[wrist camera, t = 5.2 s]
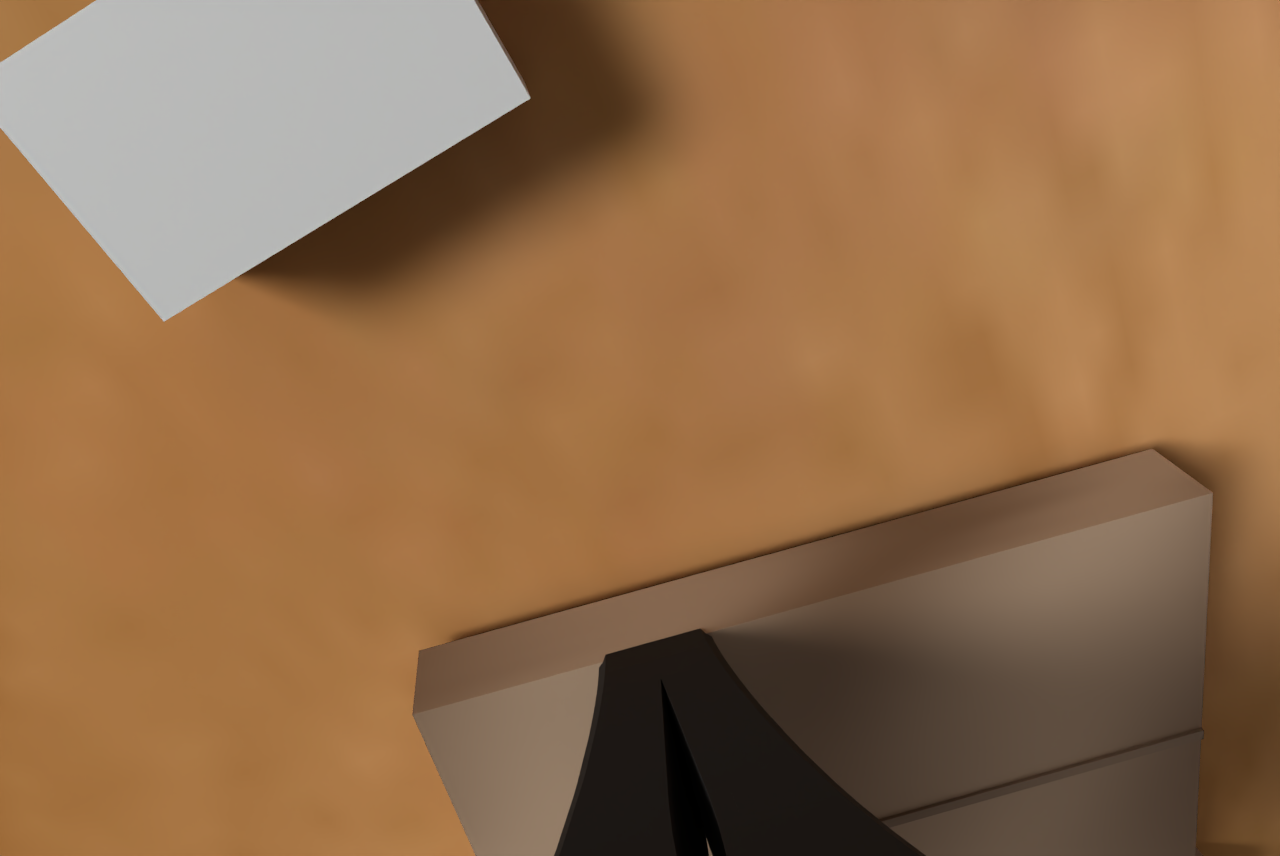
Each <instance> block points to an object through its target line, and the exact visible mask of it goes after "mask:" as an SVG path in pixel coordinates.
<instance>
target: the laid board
mask: <svg viewBox="0 0 1280 856" xmlns="http://www.w3.org/2000/svg"><path fill="white" fill-rule="evenodd" d="M1195 856H1203V855H1202V853H1201V852H1200V851H1199V850H1198V849H1197V847H1196V852H1195Z"/></svg>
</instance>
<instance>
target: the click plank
mask: <svg viewBox="0 0 1280 856" xmlns="http://www.w3.org/2000/svg"><path fill="white" fill-rule="evenodd" d="M1212 501H1213V493H1212V492H1211V491H1210V490H1208V489H1207V488H1206V487H1204V486H1203V485H1201V484H1200V483H1199V482H1197V481H1196V480H1195V479H1193V478H1192V477H1191V476H1189V475H1188V474H1186V473H1185V472H1184V471H1182V470H1181V469H1180V468H1178V467H1177V466H1176V465H1174V464H1173V463H1171V462H1170V461H1169V460H1167V459H1166V458H1165V457H1163V456H1162V455H1161V454H1159V453H1158V452H1156V451H1155V450H1154V449H1150V450H1146V451H1142V452H1139V453H1135V454H1132V455H1128V456H1124V457H1121V458H1117V459H1113V460H1110V461H1106V462H1102V463H1099V464H1095V465H1092V466H1088V467H1084V468H1081V469H1077V470H1073V471H1070V472H1066V473H1063V474H1059V475H1055V476H1052V477H1048V478H1044V479H1041V480H1037V481H1034V482H1030V483H1026V484H1023V485H1019V486H1015V487H1012V488H1008V489H1004V490H1001V491H997V492H994V493H990V494H986V495H983V496H979V497H975V498H972V499H968V500H965V501H961V502H957V503H954V504H950V505H946V506H943V507H939V508H936V509H932V510H928V511H925V512H921V513H917V514H914V515H910V516H906V517H903V518H899V519H896V520H892V521H888V522H885V523H881V524H877V525H874V526H870V527H867V528H863V529H859V530H856V531H852V532H848V533H845V534H841V535H838V536H834V537H830V538H827V539H823V540H819V541H816V542H812V543H809V544H805V545H801V546H798V547H794V548H790V549H787V550H783V551H779V552H776V553H772V554H769V555H765V556H761V557H758V558H754V559H750V560H747V561H743V562H740V563H736V564H732V565H729V566H725V567H721V568H718V569H714V570H711V571H707V572H703V573H700V574H696V575H692V576H689V577H685V578H681V579H678V580H674V581H671V582H667V583H663V584H660V585H656V586H652V587H649V588H645V589H642V590H638V591H634V592H631V593H627V594H623V595H620V596H616V597H613V598H609V599H605V600H602V601H598V602H594V603H591V604H587V605H583V606H580V607H576V608H573V609H569V610H565V611H562V612H558V613H554V614H551V615H547V616H544V617H540V618H536V619H533V620H529V621H525V622H522V623H518V624H515V625H511V626H507V627H504V628H500V629H496V630H493V631H489V632H485V633H482V634H478V635H475V636H471V637H467V638H464V639H460V640H456V641H453V642H449V643H446V644H442V645H438V646H435V647H431V648H427V649H424V650H420V651H419V657H418V666H417V676H416V686H415V695H414V705H413V717H414V719H415V721H416V724H417V726H418V728H419V730H420V732H421V735H422V737H423V739H424V741H425V744H426V746H427V748H428V750H429V753H430V755H431V757H432V759H433V761H434V764H435V766H436V768H437V770H438V773H439V775H440V777H441V779H442V782H443V784H444V786H445V788H446V790H447V793H448V795H449V797H450V799H451V802H452V804H453V806H454V808H455V810H456V813H457V815H458V817H459V819H460V822H461V824H462V826H463V828H464V831H465V833H466V835H467V837H468V839H469V842H470V844H471V846H472V848H473V851H474V853H475V855H476V856H554V854H555V852H556V849H557V846H558V843H559V839H560V836H561V833H562V830H563V827H564V824H565V821H566V818H567V815H568V812H569V809H570V806H571V802H572V799H573V796H574V793H575V789H576V786H577V782H578V778H579V774H580V770H581V766H582V762H583V758H584V754H585V750H586V746H587V742H588V738H589V733H590V728H591V723H592V718H593V713H594V707H595V701H596V695H597V686H598V677H599V667H600V665H601V664H602V663H603V660H604V657H605V655H606V654H610V653H613V652H617V651H620V650H624V649H628V648H631V647H635V646H638V645H642V644H646V643H649V642H653V641H656V640H660V639H664V638H667V637H671V636H674V635H678V634H682V633H685V632H689V631H692V630H696V629H700V628H701V629H702V630H703V631H704V632H705V633H706V634H708V635H710V636H712V638H713V640H714V642H715V643H716V645H717V647H718V649H719V650H720V652H721V654H722V655H723V657H724V658H725V660H726V661H727V663H728V664H729V665H730V667H731V668H732V670H733V671H734V672H735V674H736V675H737V676H738V678H739V679H740V680H741V682H742V683H743V684H744V685H745V687H746V688H747V689H748V691H749V692H750V693H751V694H752V695H753V697H754V698H755V699H756V700H757V701H758V703H759V704H760V705H761V706H762V707H763V708H764V710H765V711H766V712H767V713H768V714H769V715H770V716H771V717H772V718H773V719H774V721H775V722H776V723H777V724H778V725H779V726H780V727H781V728H782V729H783V731H784V732H785V733H786V734H787V735H788V736H789V737H790V738H791V739H792V740H793V741H794V742H795V743H796V744H797V745H798V746H799V747H800V748H801V749H802V750H803V751H804V753H805V754H806V755H807V756H809V757H810V758H811V759H812V760H813V761H814V762H815V763H816V764H817V765H818V766H819V767H820V768H821V769H822V770H823V771H824V772H825V773H826V774H827V775H828V776H829V777H830V778H831V779H833V780H834V781H835V782H836V783H837V784H838V785H839V786H840V787H841V788H843V789H844V790H845V791H846V792H847V793H848V794H849V795H850V796H852V797H853V798H854V799H855V800H856V801H857V802H858V803H860V804H861V805H862V806H863V807H864V808H866V809H867V810H868V811H869V812H871V813H872V814H873V815H874V816H875V817H877V818H878V819H879V820H880V821H882V822H883V823H884V824H885V825H886V826H888V827H889V828H890V829H891V830H893V831H894V832H895V833H897V834H898V835H899V836H901V837H902V838H903V839H905V840H906V841H907V842H909V843H910V844H911V845H913V846H914V847H915V848H917V849H918V850H919V851H920V852H922V853H923V854H924V855H926V856H1195V852H1196V832H1197V811H1198V790H1199V770H1200V749H1201V739H1203V738H1204V730H1203V729H1202V708H1203V687H1204V666H1205V646H1206V625H1207V604H1208V584H1209V563H1210V542H1211V522H1212ZM706 839H707V838H706ZM707 845H708V852H709V856H713V855H712V852H711V850H710V847H709V844H708V841H707Z"/></svg>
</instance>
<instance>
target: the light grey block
mask: <svg viewBox="0 0 1280 856" xmlns="http://www.w3.org/2000/svg"><path fill="white" fill-rule="evenodd" d="M530 98H531V97H530V95H529V92H528V90H527V87H526V84H525V82H524V80H523V78H522V76H521V74H520V73H519V71H518V69H517V67H516V66H515V64H514V62H513V60H512V59H511V57H510V55H509V54H508V52H507V50H506V48H505V47H504V45H503V43H502V41H501V40H500V38H499V36H498V34H497V33H496V31H495V29H494V27H493V26H492V24H491V22H490V21H489V19H488V17H487V15H486V14H485V12H484V10H483V8H482V7H481V5H480V3H479V1H478V0H96V1H95V2H93V3H91V4H90V5H88V6H87V7H85V8H84V9H82V10H81V11H79V12H78V13H76V14H74V15H73V16H71V17H70V18H68V19H67V20H65V21H64V22H62V23H61V24H59V25H58V26H56V27H54V28H53V29H51V30H50V31H48V32H47V33H45V34H44V35H42V36H41V37H39V38H37V39H36V40H34V41H33V42H31V43H30V44H28V45H27V46H25V47H24V48H22V49H21V50H19V51H17V52H16V53H14V54H13V55H11V56H10V57H8V58H7V59H5V60H4V61H2V62H1V63H0V128H1V129H2V130H3V131H4V133H5V134H6V135H7V136H8V137H9V138H10V140H11V141H12V142H13V143H14V144H15V146H16V147H17V148H18V149H19V150H20V152H21V153H22V154H23V155H24V156H25V157H26V159H27V160H28V161H29V162H30V163H31V165H32V166H33V167H34V168H35V169H36V171H37V172H38V173H39V174H40V175H41V176H42V178H43V179H44V180H45V181H46V182H47V184H48V185H49V186H50V187H51V188H52V189H53V191H54V192H55V193H56V194H57V195H58V197H59V198H60V199H61V200H62V201H63V203H64V204H65V205H66V206H67V207H68V208H69V210H70V211H71V212H72V213H73V214H74V216H75V217H76V218H77V219H78V220H79V222H80V223H81V224H82V225H83V226H84V227H85V229H86V230H87V231H88V232H89V233H90V235H91V236H92V237H93V238H94V239H95V240H96V242H97V243H98V244H99V245H100V246H101V248H102V249H103V250H104V251H105V252H106V254H107V255H108V256H109V257H110V258H111V259H112V261H113V262H114V263H115V264H116V265H117V267H118V268H119V269H120V270H121V271H122V273H123V274H124V275H125V276H126V277H127V278H128V280H129V281H130V282H131V283H132V284H133V286H134V287H135V288H136V289H137V290H138V292H139V293H140V294H141V295H142V296H143V297H144V299H145V300H146V301H147V302H148V303H149V305H150V306H151V307H152V308H153V309H154V310H155V312H156V313H157V314H158V315H159V316H160V318H161V319H162V320H163V321H166V320H167V319H169V318H171V317H172V316H174V315H175V314H177V313H179V312H180V311H182V310H184V309H185V308H187V307H189V306H190V305H192V304H194V303H195V302H197V301H198V300H200V299H202V298H203V297H205V296H207V295H208V294H210V293H212V292H213V291H215V290H217V289H218V288H220V287H221V286H223V285H225V284H226V283H228V282H230V281H231V280H233V279H235V278H236V277H238V276H240V275H241V274H243V273H244V272H246V271H248V270H249V269H251V268H253V267H254V266H256V265H258V264H259V263H261V262H263V261H264V260H266V259H267V258H269V257H271V256H272V255H274V254H276V253H277V252H279V251H281V250H282V249H284V248H286V247H287V246H289V245H290V244H292V243H294V242H295V241H297V240H299V239H300V238H302V237H304V236H305V235H307V234H309V233H310V232H312V231H313V230H315V229H317V228H318V227H320V226H322V225H323V224H325V223H327V222H328V221H330V220H332V219H333V218H335V217H336V216H338V215H340V214H341V213H343V212H345V211H346V210H348V209H350V208H351V207H353V206H355V205H356V204H358V203H359V202H361V201H363V200H364V199H366V198H368V197H369V196H371V195H373V194H374V193H376V192H378V191H379V190H381V189H382V188H384V187H386V186H387V185H389V184H391V183H392V182H394V181H396V180H397V179H399V178H401V177H402V176H404V175H405V174H407V173H409V172H410V171H412V170H414V169H415V168H417V167H419V166H420V165H422V164H424V163H425V162H427V161H428V160H430V159H432V158H433V157H435V156H437V155H438V154H440V153H442V152H443V151H445V150H447V149H448V148H450V147H451V146H453V145H455V144H456V143H458V142H460V141H461V140H463V139H465V138H466V137H468V136H470V135H471V134H473V133H474V132H476V131H478V130H479V129H481V128H483V127H484V126H486V125H488V124H489V123H491V122H493V121H494V120H496V119H497V118H499V117H501V116H502V115H504V114H506V113H507V112H509V111H511V110H512V109H514V108H516V107H517V106H519V105H520V104H522V103H524V102H525V101H527V100H529V99H530Z"/></svg>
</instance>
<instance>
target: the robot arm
mask: <svg viewBox="0 0 1280 856" xmlns="http://www.w3.org/2000/svg"><path fill="white" fill-rule="evenodd" d="M706 838H707V839H706ZM707 841H708V844H709V847H710V850H711V852H712V855H713V856H926V855H924V854H923V853H922V852H920V851H919V850H918V849H917V848H915V847H914V846H913V845H911V844H910V843H909V842H907V841H906V840H905V839H903V838H902V837H901V836H899V835H898V834H897V833H895V832H894V831H893V830H891V829H890V828H889V827H888V826H886V825H885V824H884V823H883V822H882V821H880V820H879V819H878V818H877V817H875V816H874V815H873V814H872V813H871V812H869V811H868V810H867V809H866V808H864V807H863V806H862V805H861V804H860V803H858V802H857V801H856V800H855V799H854V798H853V797H852V796H850V795H849V794H848V793H847V792H846V791H845V790H844V789H843V788H841V787H840V786H839V785H838V784H837V783H836V782H835V781H834V780H833V779H831V778H830V777H829V776H828V775H827V774H826V773H825V772H824V771H823V770H822V769H821V768H820V767H819V766H818V765H817V764H816V763H815V762H814V761H813V760H812V759H811V758H810V757H809V756H807V755H806V754H805V753H804V751H803V750H802V749H801V748H800V747H799V746H798V745H797V744H796V743H795V742H794V741H793V740H792V739H791V738H790V737H789V736H788V735H787V734H786V733H785V732H784V731H783V729H782V728H781V727H780V726H779V725H778V724H777V723H776V722H775V721H774V719H773V718H772V717H771V716H770V715H769V714H768V713H767V712H766V711H765V710H764V708H763V707H762V706H761V705H760V704H759V703H758V701H757V700H756V699H755V698H754V697H753V695H752V694H751V693H750V692H749V691H748V689H747V688H746V687H745V685H744V684H743V683H742V682H741V680H740V679H739V678H738V676H737V675H736V674H735V672H734V671H733V670H732V668H731V667H730V665H729V664H728V663H727V661H726V660H725V658H724V657H723V655H722V654H721V652H720V650H719V649H718V647H717V645H716V643H715V642H714V640H713V638H712V636H710V635H708V634H706V633H705V632H704V631H703V630H702V629H701V628H700V629H696V630H692V631H689V632H685V633H682V634H678V635H674V636H671V637H667V638H664V639H660V640H656V641H653V642H649V643H646V644H642V645H638V646H635V647H631V648H628V649H624V650H620V651H617V652H613V653H610V654H606V655H605V657H604V660H603V663H602V664H601V665H600V667H599V677H598V686H597V695H596V701H595V707H594V713H593V718H592V723H591V728H590V733H589V738H588V742H587V746H586V750H585V754H584V758H583V762H582V766H581V770H580V774H579V778H578V782H577V786H576V789H575V793H574V796H573V799H572V802H571V806H570V809H569V812H568V815H567V818H566V821H565V824H564V827H563V830H562V833H561V836H560V839H559V843H558V846H557V849H556V852H555V854H554V856H709V852H708V845H707Z"/></svg>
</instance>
